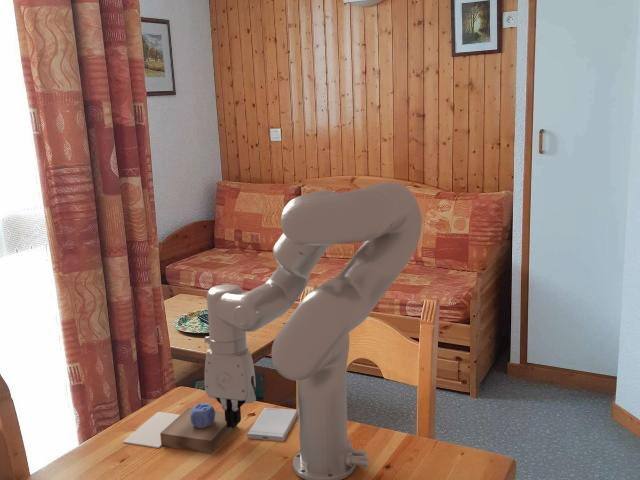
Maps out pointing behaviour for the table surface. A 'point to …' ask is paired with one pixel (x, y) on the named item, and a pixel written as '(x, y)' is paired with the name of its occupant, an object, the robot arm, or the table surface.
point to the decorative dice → (202, 415)
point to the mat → (151, 430)
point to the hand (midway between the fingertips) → (233, 424)
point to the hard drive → (273, 424)
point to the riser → (195, 433)
